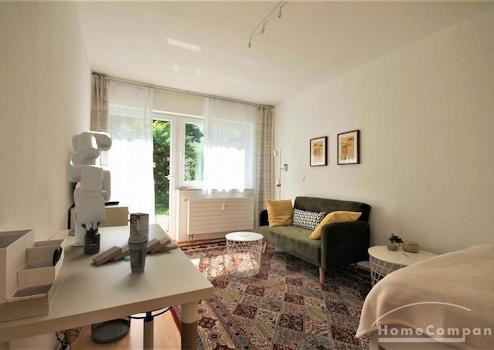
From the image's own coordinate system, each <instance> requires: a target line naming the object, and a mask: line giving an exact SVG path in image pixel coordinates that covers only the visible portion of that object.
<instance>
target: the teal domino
mask: <svg viewBox="0 0 494 350" xmlns="http://www.w3.org/2000/svg"><path fill="white" fill-rule="evenodd" d="M121 259H123V260H124V261H126V262H128V261H129V262H130V253H129V254H127V255H126V256H124V257H122V258H121Z"/></svg>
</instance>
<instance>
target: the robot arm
mask: <svg viewBox="0 0 494 350" xmlns="http://www.w3.org/2000/svg"><path fill="white" fill-rule="evenodd" d="M71 145H72V149H73V151H74V152H73V153H72V154H71V155H69V156H68V159H67V161H66V165H65V176H66V179H67V181H69V182H72V183H79V185H80V186H78V187H76V188H75V189H74V190H73V191H74V192H73V199H74V206H75V207H74V208H75V210H74V213H75V214H74V240H73V241H71V245H70V246H73V247H83V246H84V235H85V234H86V238H87V239H89V240H91V239H94V236H95V229H96V228H97V227H98V228H99V227H100V225H102V224H103V225H104V224H105V223H106V206H105V204H106V203H108V202H110V200H111V199H112V198H111V197H112V196H111V195H112V192H111V191H112V190H111V189H112V187H111V185H112V175H111V171H110V169H109V168H107V167H103V166H101V165H96V163H97V161H96V160H97V159H99V157H100V155H101V152H109V150H111V149H112V146H113V139H112V137H111V135H110V134H109V133H107V132H100V131H99V132H98V131H83V132H80V134H78V133H77V134H74V135H73V136H72V137H71ZM90 227H91V229H90Z"/></svg>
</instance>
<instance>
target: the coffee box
mask: <svg viewBox="0 0 494 350" xmlns="http://www.w3.org/2000/svg"><path fill="white" fill-rule="evenodd" d="M137 219H139V231H143V232H144V233H145V234H146V235H147V237H148V241H150V240H149V237H150V236H149V234H150V233H149V231H150V230H149V229H150V228H149V227H150V214H149V213H146V212H145V213H144V212H132V213H129V236H130V235H131V234H132V233H133V232H135V231H137Z"/></svg>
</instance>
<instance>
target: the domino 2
mask: <svg viewBox="0 0 494 350" xmlns="http://www.w3.org/2000/svg"><path fill="white" fill-rule="evenodd" d="M120 248H121V249H122V251H123V252H121V253H119V254H118V255H116V256H114V257H113V258H111V259H109V260H110V261H114V262H116V261H118V260H120V259H123V258H122V257H124V256H126V255H127V254H129V247H128V244H125V245H124V246H122V247H120Z"/></svg>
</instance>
